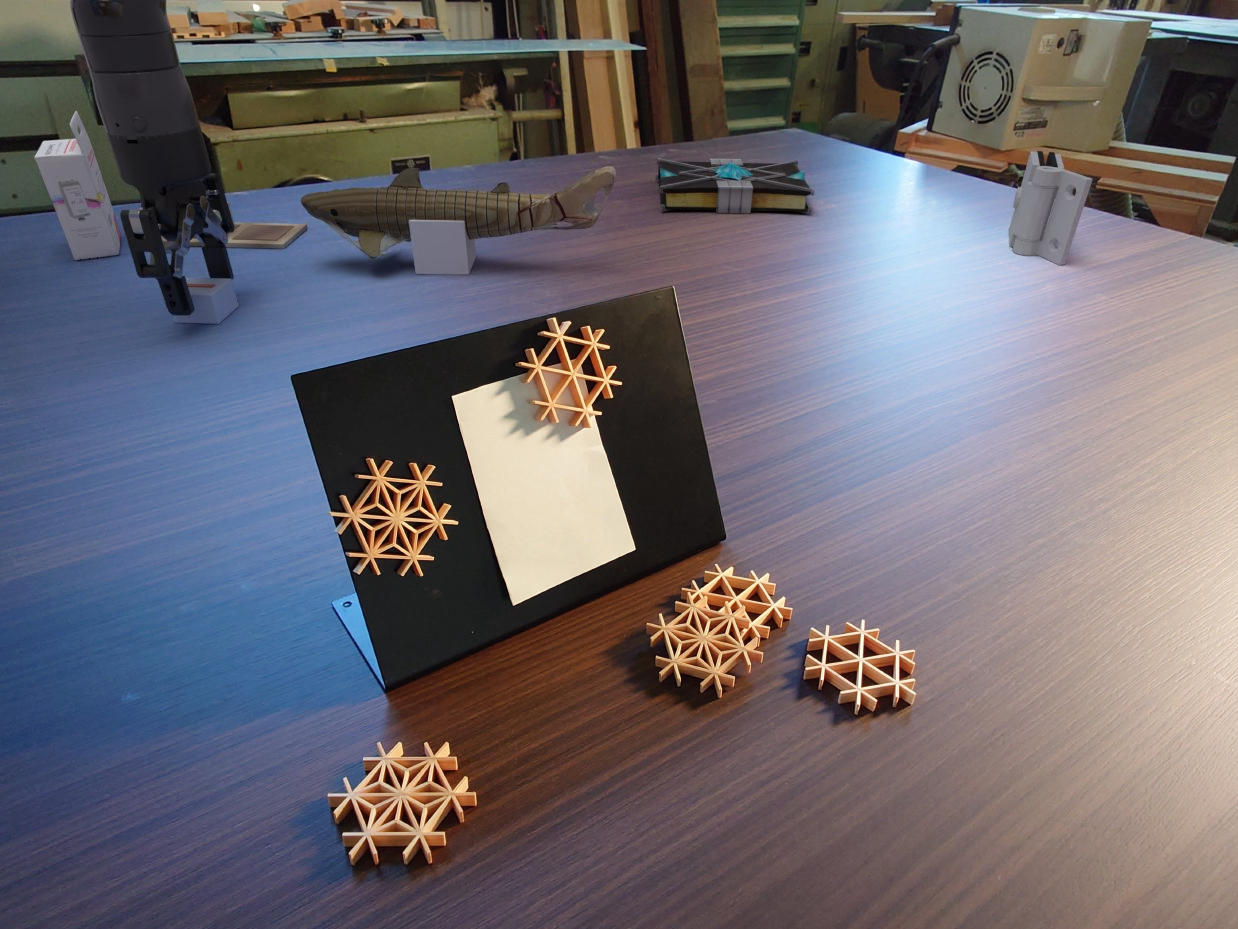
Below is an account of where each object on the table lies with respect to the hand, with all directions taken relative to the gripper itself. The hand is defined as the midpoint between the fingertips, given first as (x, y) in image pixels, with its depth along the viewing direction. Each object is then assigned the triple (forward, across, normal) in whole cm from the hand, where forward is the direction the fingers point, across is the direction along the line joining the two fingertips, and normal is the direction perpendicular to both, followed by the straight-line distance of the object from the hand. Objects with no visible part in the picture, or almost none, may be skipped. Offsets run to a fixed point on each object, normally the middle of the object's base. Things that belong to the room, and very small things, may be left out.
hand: (203, 297), depth 80 cm
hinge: (+3, -28, +93) cm, 97 cm away
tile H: (+1, -24, -11) cm, 27 cm away
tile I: (+2, 0, 0) cm, 2 cm away
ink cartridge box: (+2, -19, -22) cm, 29 cm away
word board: (+2, -24, -9) cm, 26 cm away
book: (+2, -47, +56) cm, 73 cm away
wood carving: (+2, -16, +23) cm, 28 cm away
